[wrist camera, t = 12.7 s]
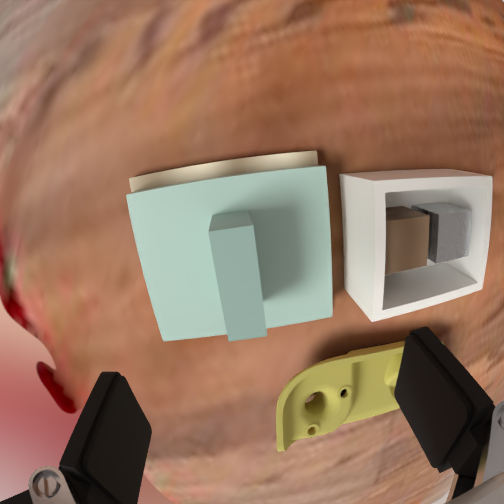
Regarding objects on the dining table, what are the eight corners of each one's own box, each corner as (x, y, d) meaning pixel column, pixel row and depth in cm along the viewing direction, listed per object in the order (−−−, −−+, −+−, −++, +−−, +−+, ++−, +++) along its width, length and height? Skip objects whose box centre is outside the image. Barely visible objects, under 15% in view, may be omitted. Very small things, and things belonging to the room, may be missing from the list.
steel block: (443, 201, 23) (471, 210, 19) (442, 242, 24) (468, 256, 21) (411, 204, 23) (439, 214, 19) (410, 248, 24) (435, 263, 21)
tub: (449, 168, 23) (492, 176, 17) (445, 266, 26) (481, 289, 21) (339, 173, 23) (373, 181, 17) (343, 288, 26) (371, 321, 20)
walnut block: (402, 205, 23) (429, 215, 19) (401, 250, 24) (426, 265, 20) (362, 210, 23) (385, 221, 19) (363, 256, 24) (384, 274, 20)
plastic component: (447, 335, 27) (440, 416, 25) (409, 330, 34) (405, 401, 32) (274, 367, 23) (276, 464, 22) (258, 351, 31) (261, 432, 29)
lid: (318, 165, 21) (351, 169, 15) (325, 306, 25) (352, 348, 19) (133, 191, 21) (101, 205, 15) (166, 329, 24) (153, 377, 18)
